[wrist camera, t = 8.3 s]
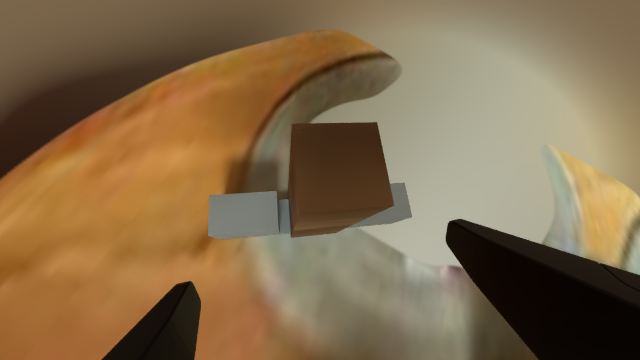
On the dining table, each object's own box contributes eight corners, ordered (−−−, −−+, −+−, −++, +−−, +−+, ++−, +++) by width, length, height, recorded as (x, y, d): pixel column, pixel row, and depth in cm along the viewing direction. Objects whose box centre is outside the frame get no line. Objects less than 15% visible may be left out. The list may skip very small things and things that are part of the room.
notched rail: (391, 223, 23) (412, 216, 19) (222, 239, 20) (207, 235, 17) (385, 194, 24) (404, 182, 20) (222, 206, 21) (209, 195, 18)
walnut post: (335, 233, 21) (394, 205, 10) (290, 237, 20) (299, 213, 9) (329, 190, 22) (376, 122, 11) (287, 193, 22) (291, 123, 10)
